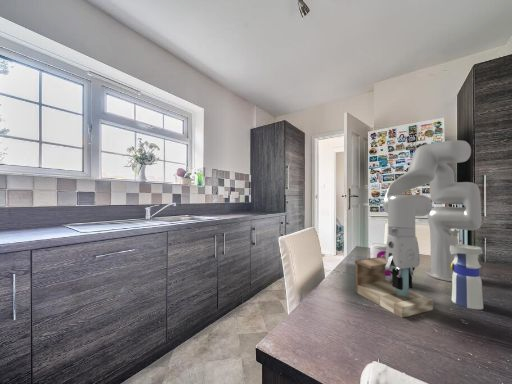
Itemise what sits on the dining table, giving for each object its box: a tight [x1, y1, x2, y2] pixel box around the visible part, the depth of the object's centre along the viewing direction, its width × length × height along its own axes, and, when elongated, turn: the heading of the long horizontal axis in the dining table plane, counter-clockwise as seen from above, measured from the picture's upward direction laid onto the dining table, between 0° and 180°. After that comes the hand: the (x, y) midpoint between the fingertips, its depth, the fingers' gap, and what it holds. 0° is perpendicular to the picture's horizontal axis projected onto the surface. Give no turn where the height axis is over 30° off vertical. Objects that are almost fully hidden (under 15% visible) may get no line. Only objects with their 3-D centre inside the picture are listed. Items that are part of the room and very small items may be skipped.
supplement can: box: [369, 242, 392, 283], centre depth 93 cm, size 8×8×15 cm
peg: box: [395, 268, 410, 296], centre depth 71 cm, size 4×4×10 cm
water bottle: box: [450, 228, 484, 310], centre depth 72 cm, size 8×8×25 cm
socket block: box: [354, 257, 434, 319], centre depth 75 cm, size 14×18×12 cm
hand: (402, 286), depth 71 cm, fingers closed on peg, 3 cm apart
